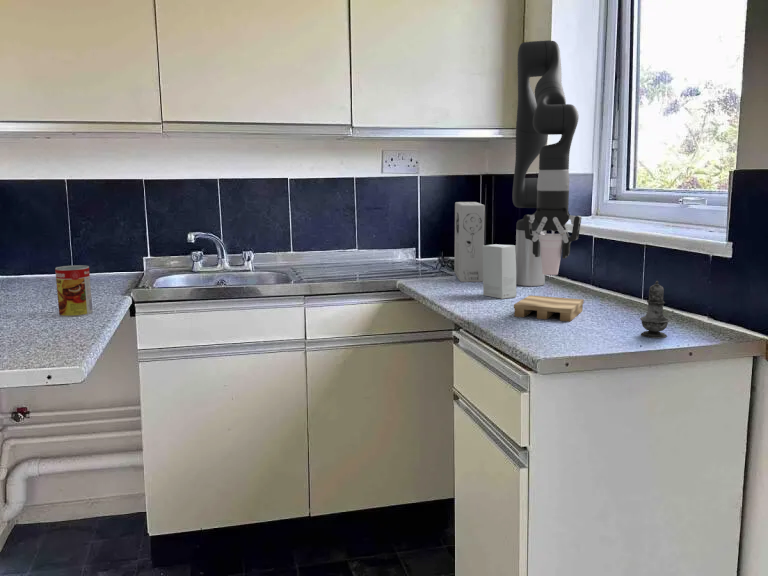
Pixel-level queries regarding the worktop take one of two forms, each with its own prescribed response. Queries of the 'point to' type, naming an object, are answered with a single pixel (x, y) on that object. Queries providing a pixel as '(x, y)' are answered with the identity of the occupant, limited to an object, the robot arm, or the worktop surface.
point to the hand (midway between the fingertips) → (550, 257)
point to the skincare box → (499, 271)
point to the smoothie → (550, 252)
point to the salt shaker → (655, 314)
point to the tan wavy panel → (549, 307)
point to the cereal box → (469, 241)
